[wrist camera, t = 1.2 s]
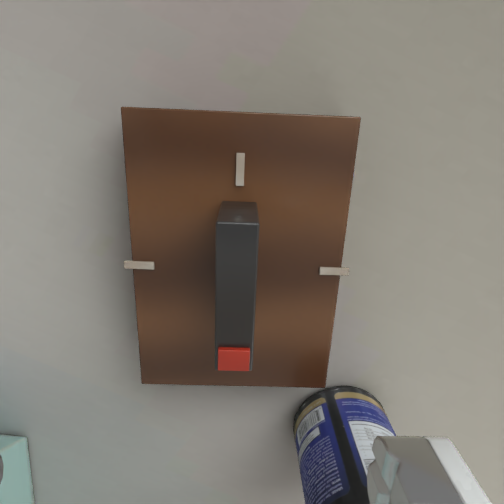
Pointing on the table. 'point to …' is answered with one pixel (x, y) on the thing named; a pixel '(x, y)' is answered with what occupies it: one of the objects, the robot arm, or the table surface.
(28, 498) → the planter
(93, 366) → the table surface
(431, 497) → the robot arm
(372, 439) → the pill bottle
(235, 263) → the grey block
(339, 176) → the panel
